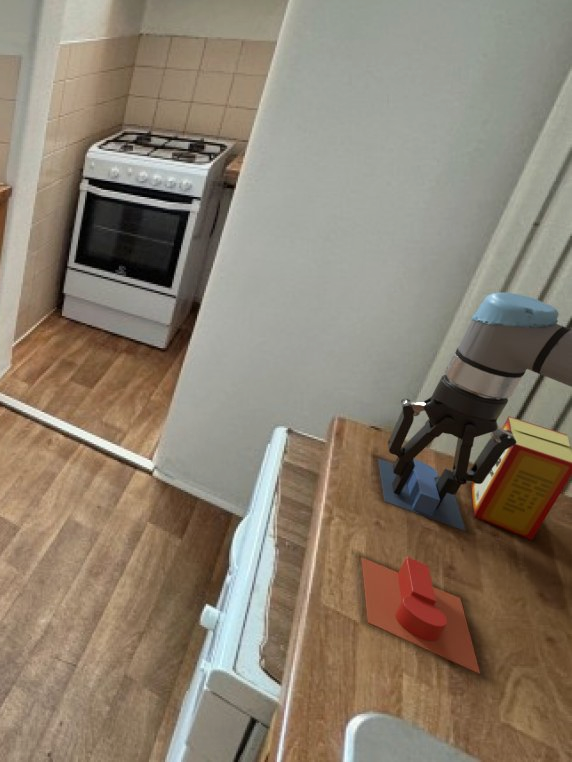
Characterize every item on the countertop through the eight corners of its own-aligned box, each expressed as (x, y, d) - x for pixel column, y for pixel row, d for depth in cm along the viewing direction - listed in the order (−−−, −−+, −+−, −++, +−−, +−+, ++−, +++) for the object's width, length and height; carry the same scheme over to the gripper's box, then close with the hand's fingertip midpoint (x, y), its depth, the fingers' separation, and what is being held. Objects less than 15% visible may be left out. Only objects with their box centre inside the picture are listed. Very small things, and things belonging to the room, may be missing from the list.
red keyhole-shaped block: (388, 570, 90) (397, 552, 89) (428, 586, 88) (437, 569, 86) (397, 628, 82) (406, 610, 80) (441, 648, 79) (452, 629, 78)
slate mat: (450, 485, 107) (451, 483, 107) (464, 533, 97) (466, 531, 97) (377, 460, 112) (378, 458, 112) (383, 503, 103) (384, 501, 103)
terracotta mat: (459, 600, 86) (460, 598, 86) (478, 676, 77) (480, 673, 76) (360, 559, 92) (361, 557, 92) (366, 624, 83) (368, 622, 82)
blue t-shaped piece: (440, 519, 99) (448, 503, 98) (404, 506, 102) (412, 490, 100) (429, 479, 107) (437, 464, 106) (397, 468, 110) (404, 453, 109)
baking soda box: (530, 541, 96) (578, 463, 90) (473, 518, 100) (515, 442, 94) (524, 507, 102) (568, 432, 96) (470, 487, 106) (509, 414, 101)
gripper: (547, 396, 92) (478, 508, 101) (400, 354, 102) (349, 460, 111) (563, 422, 87) (488, 537, 96) (406, 375, 96) (351, 485, 105)
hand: (414, 496), depth 103 cm, fingers open, 4 cm apart
